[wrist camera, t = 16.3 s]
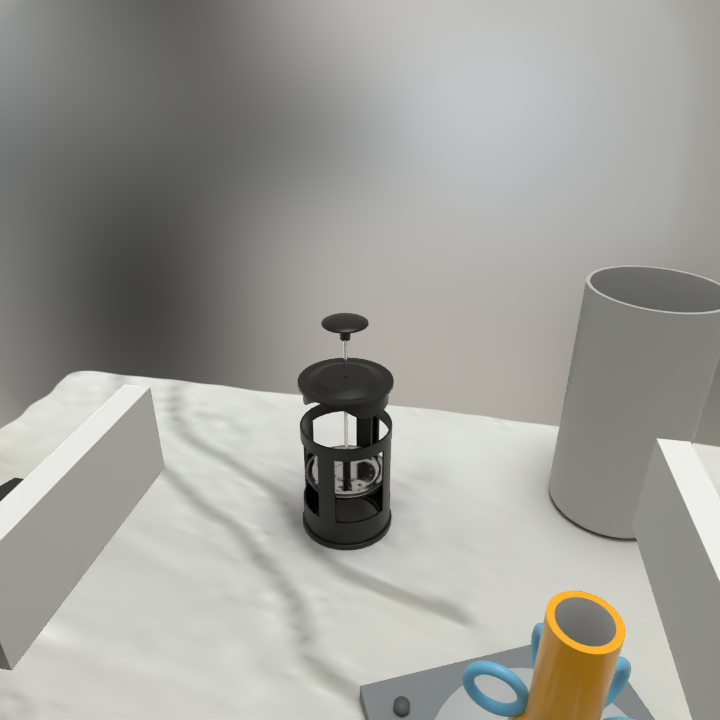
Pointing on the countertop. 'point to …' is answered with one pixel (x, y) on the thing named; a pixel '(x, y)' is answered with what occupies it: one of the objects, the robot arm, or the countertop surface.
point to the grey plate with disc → (452, 703)
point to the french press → (346, 443)
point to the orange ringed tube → (564, 664)
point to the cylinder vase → (631, 387)
